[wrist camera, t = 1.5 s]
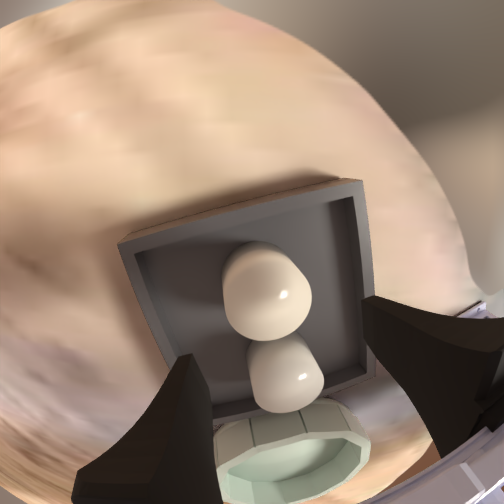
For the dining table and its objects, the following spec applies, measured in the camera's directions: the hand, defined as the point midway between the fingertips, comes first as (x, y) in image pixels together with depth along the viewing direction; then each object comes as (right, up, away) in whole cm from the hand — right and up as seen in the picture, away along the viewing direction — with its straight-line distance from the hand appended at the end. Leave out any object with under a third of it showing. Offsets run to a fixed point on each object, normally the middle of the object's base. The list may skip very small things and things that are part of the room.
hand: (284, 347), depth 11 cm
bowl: (+2, -16, +14) cm, 22 cm away
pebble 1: (-1, +2, +7) cm, 8 cm away
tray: (0, 0, +9) cm, 9 cm away
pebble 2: (+1, -4, +9) cm, 10 cm away
